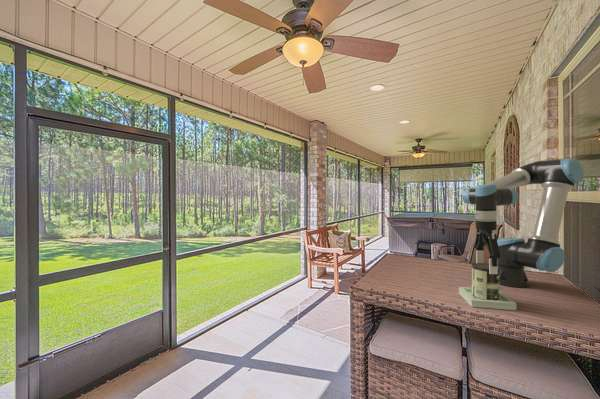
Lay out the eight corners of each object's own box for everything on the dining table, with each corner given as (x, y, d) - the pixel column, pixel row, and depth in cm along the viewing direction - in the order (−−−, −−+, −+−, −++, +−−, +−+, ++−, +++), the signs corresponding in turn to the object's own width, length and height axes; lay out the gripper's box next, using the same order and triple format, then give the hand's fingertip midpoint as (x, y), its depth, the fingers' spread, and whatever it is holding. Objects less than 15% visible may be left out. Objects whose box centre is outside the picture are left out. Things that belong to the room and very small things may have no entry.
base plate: (497, 295, 125) (497, 289, 125) (516, 310, 110) (516, 303, 109) (458, 292, 129) (458, 286, 129) (471, 306, 113) (471, 300, 113)
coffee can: (498, 296, 121) (499, 264, 121) (500, 304, 112) (501, 270, 112) (471, 292, 126) (471, 261, 126) (471, 299, 118) (471, 267, 117)
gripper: (465, 217, 131) (466, 261, 132) (488, 224, 107) (489, 277, 108) (483, 217, 129) (484, 261, 130) (510, 224, 105) (511, 278, 106)
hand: (486, 269), depth 119 cm, fingers open, 13 cm apart
